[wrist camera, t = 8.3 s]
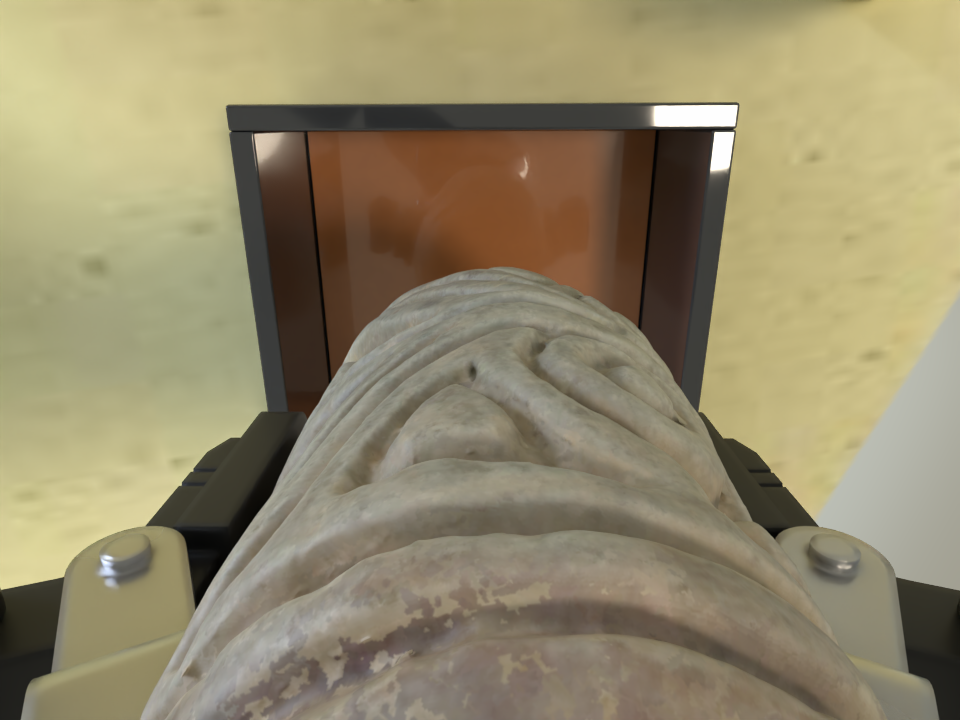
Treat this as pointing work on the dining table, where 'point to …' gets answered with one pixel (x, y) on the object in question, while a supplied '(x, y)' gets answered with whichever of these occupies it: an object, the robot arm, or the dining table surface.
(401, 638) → the carving
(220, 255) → the dining table surface
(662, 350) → the storage box with compartments
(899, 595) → the robot arm
